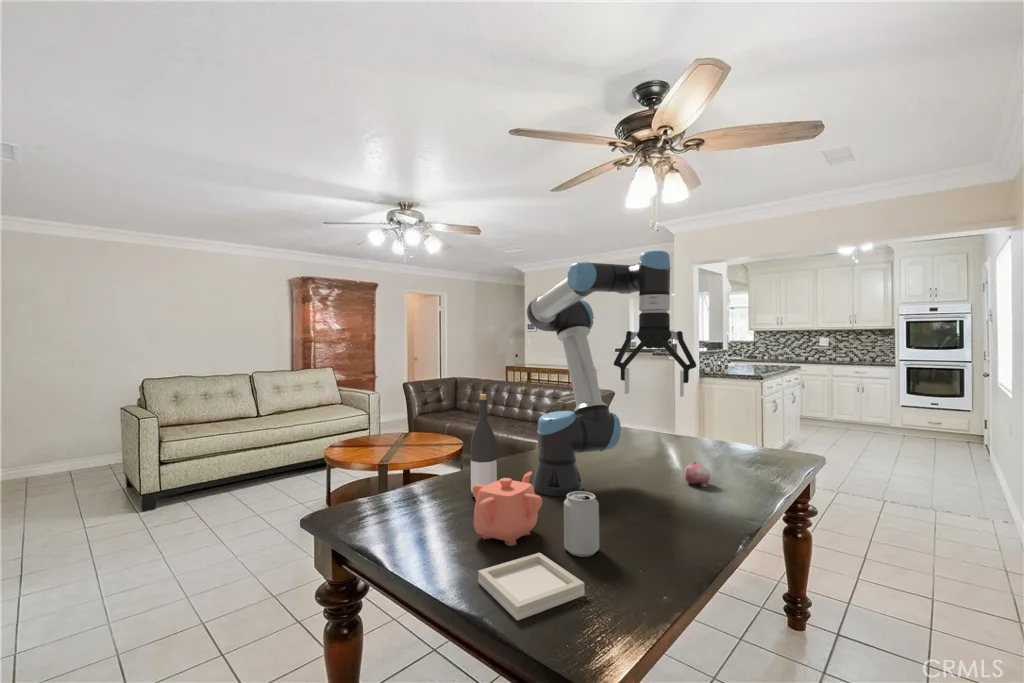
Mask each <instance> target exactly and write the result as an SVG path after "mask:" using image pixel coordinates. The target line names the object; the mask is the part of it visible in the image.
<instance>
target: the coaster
mask: <svg viewBox="0 0 1024 683" xmlns="http://www.w3.org/2000/svg"><path fill="white" fill-rule="evenodd" d="M477 577H478V578H477V581H478V582H477V583H478V584H479V585H480V586H481V587H482V588H483V589H484V590H486V592H488V593H489V595H491V597H492V598H493V599H495V600H496V601H497V602H498V604H499V605H500V606H502V607H503V608H504V610H506V611H507V612H508V613H509V615H511V616H512V617H513V618H514V619H515V620H516V621H520V620H523V619H525V618H528V617H531V616H533V615H536V614H539V613H542V612H545V611H547V610H550V609H553V608H554V607H558V606H560V605H562V604H565V603H569V602H570V601H571V602H572V601H573V600H575V599H579V598H581V597H584V596H585V593H586V592H585V582H584V581H583V580H580V579H579V578H578V577H576V576H575V575H573V574H572V573H570V572H569V571H567V570H566V569H565V568H563V567H561V565H559V564H557V563H556V562H555V561H553V560H551V559H550V558H549V557H547V556H546V555H544V554H543V553H541V552H537V553H533V554H530V555H527V556H522V557H519V558H517V559H512V560H510V561H506V562H502V563H500V564H495V565H492V566H490V567H485V568H483V569H482V568H481V569H480V570H477Z"/></svg>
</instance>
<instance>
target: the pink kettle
mask: <svg viewBox="0 0 1024 683" xmlns="http://www.w3.org/2000/svg"><path fill="white" fill-rule="evenodd" d="M532 474H533V471H528V472H526V473H525V474H524V475H523V478H522V481H519V480H513V479H512V478H510V477H502V478H500V479H499V480H498V479H497V481H495V482H493V483H490V484H488V485H480V484H477V485H474V486H473V488H472V491H473V494H474V497H475V498H474V499H475V504H474V510H473V512H474V513H473V527H474V530H475V533H476V534H478V535H481V539H482V538H483V539H482V540H485V539H489V540H491V538H492V539H495V540H501V541H503V542H504V544H506V545H505V546H507V545H508V547H513V545H514V546H516V545H517V540H518V539H520V538H521V537H523V536H525V537H526V536H530V535H531V533H532V532H531V531H532V529H533V528H535V526H536V525H537V521H538V518H539V517H538V516H539V514H538V513H539V511H540V509H541V508H542V505H543V498H542V497H541V496H540V495H537V494H536V492H535V491H534V489H533V483H530V478H531V477H532Z"/></svg>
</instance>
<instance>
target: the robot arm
mask: <svg viewBox="0 0 1024 683" xmlns="http://www.w3.org/2000/svg"><path fill="white" fill-rule="evenodd" d="M670 258H671V257H670V254H669V253H668V252H667V251H664V250H649V251H648V250H647V251H644V252H642V253H640V254H639V259H638V263H634V264H629V265H628V264H617V263H615V264H612V263H599V262H589V261H583V262H579V261H577V262H573V263H572V264H571V265H570V267H569V269H568V271H567V275H566V276H567V277H566V278H565V279H564V280H562V281H560V282H559V283H558V284H556V285H555V286H554V287H553V288H551V289H550V290H548V291H547V292H545V293H544V294H539V295H537V296H535V297H534V298H533V299H531V301H530V302H529V304H528V305H527V309H526V316H527V320H528V321H529V323H530V324H531V325H532V326H533V327H534V328H535V329H538V330H540V331H542V332H556V336H557V340H559V341H561V343H562V344H563V350H564V354H565V358H566V363H567V368H568V372H569V377H570V382H571V387H572V390H573V391H572V392H573V397H574V401H575V406H576V407H575V408H574V410H573V411H571V410H562V411H559V410H558V411H553V412H552V411H551V412H549V413H547V412H546V413H545V414H543V415H542V416H540V417H539V418H538V421H537V430H536V432H537V449H538V451H537V453H538V456H537V460H538V463H537V466H536V470H535V474H534V477H533V480H532V485H533V489H534V492H535V493H538V494H540V495H544V496H551V497H567V494H568V493H570V492H575V491H583V482H582V479H581V476H580V472H579V468H578V467H577V454H582V453H589V452H591V453H592V452H604V451H606V450H607V451H608V450H611V449H613V448H615V447H616V446H617V445H618V443H619V440H620V438H621V435H622V426H621V421H620V418H619V416H617V414H616V413H614V412H610V408H609V405H608V404H607V403H605V402H603V400H602V395H601V391H600V386H599V381H598V377H597V373H596V369H595V365H594V362H593V357H592V352H591V348H590V343H589V339H588V336H589V335H590V333H591V329H592V328H593V325H594V320H593V319H595V318H594V311H593V309H592V307H591V305H590V304H589V302H587V301H586V300H584V298H586V297H588V296H590V295H591V294H593V293H595V292H599V293H601V292H603V293H604V292H605V293H606V292H607V293H608V292H609V293H617V294H621V295H622V294H625V295H626V294H632V293H637V292H638V296H639V299H638V309H639V312H640V314H638V331H631V330H628V331H626V334H625V340H624V342H623V344H622V345H621V348H620V350H619V352H618V354H617V355H616V357H615V359H614V362H613V366H614V367H615V366H616V367H618V368H619V369H620V380H621V381H624V395H625V394H626V395H627V394H629V393H630V368H628V366H629V365H630V363H631V362H632V361H633V360H634V359H635V358H636V357H637V355H639V353H640V352H641V351H642V350H643V349H644V348H646V349H662V348H664V349H665V350H666V351H667V352H668V353H669V355H671V357H672V358H673V359H674V360H675V361H676V362H677V364H678V365H679V366H680V367H681V368H682V369H680V370H679V372H680V374H679V383H680V384H679V387H680V388H679V397H681V398H683V397H684V396H685V394H684V393H685V391H684V390H685V387H684V386H685V384H689V380H690V379H689V378H690V377H689V376H690V375H689V374H690V370H692V369H695V368H696V367H697V363H696V360H694V357H693V355H692V353H691V351H690V350H689V348H688V346H687V344H686V341H685V340H684V333H683V331H681V330H678V331H673V332H672V331H671V329H670V322H671V319H670V318H671V317H670V312H669V311H670V310H671V309H670V308H671V305H670V304H671V295H670V292H671V289H670V288H671V269H672V268H671V262H670V261H671V259H670ZM636 337H637V338H638V340H639V341H640V342H639V343H638V345H637V346H636V347H635V348H634V350H632V352H631V353H630V354H629V355H628V356H627V357H626V358H625V360H624V361H623V362H622V360H623V359H624V356H625V354H626V353H627V350H628V348H629V346H630V345H631V342H632V341H633V340H635V338H636ZM671 337H673V338H674V340H676V341H678V344H679V346H680V348H681V349H682V352H683V353H684V355H685V358H686V359H687V361H688V363H687V362H686V361H685V360H684V359H683V358H682V357H681V356H680V355H679V353H677V352H676V350H675V349H674V348H673V347H672V345H670V343H669V340H670V339H671Z"/></svg>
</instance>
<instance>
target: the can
mask: <svg viewBox="0 0 1024 683" xmlns="http://www.w3.org/2000/svg"><path fill="white" fill-rule="evenodd" d="M599 507H600V504H599V501H598V500H597V499H596V495H595V494H594V493H591V492H590V491H589V492H588V491H583V490H581V491H575V492H570V493H568V494H567V496H566V498H565V500H564V501H563V541H564V542H563V544H564V549H566V551H567V552H568V553H569V554H571V555H573V556H576V557H580V558H581V557H583V558H585V557H591V556H593V555H595V554H596V553H597V552H598V551H599V550H600V508H599Z"/></svg>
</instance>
